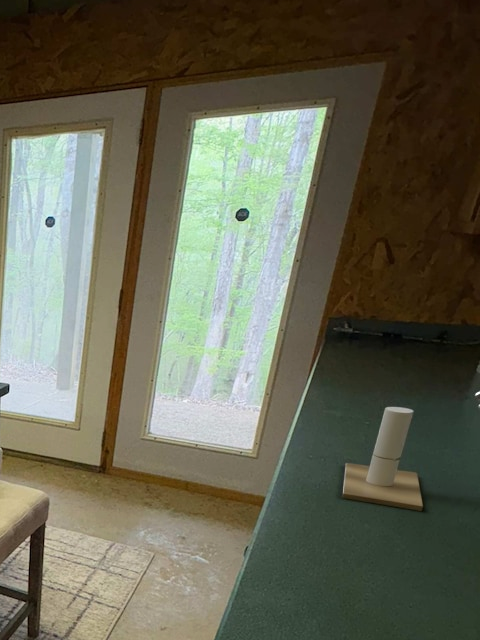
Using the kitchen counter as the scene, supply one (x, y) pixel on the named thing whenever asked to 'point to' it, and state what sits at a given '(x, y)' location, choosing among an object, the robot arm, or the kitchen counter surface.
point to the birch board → (382, 488)
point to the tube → (389, 446)
